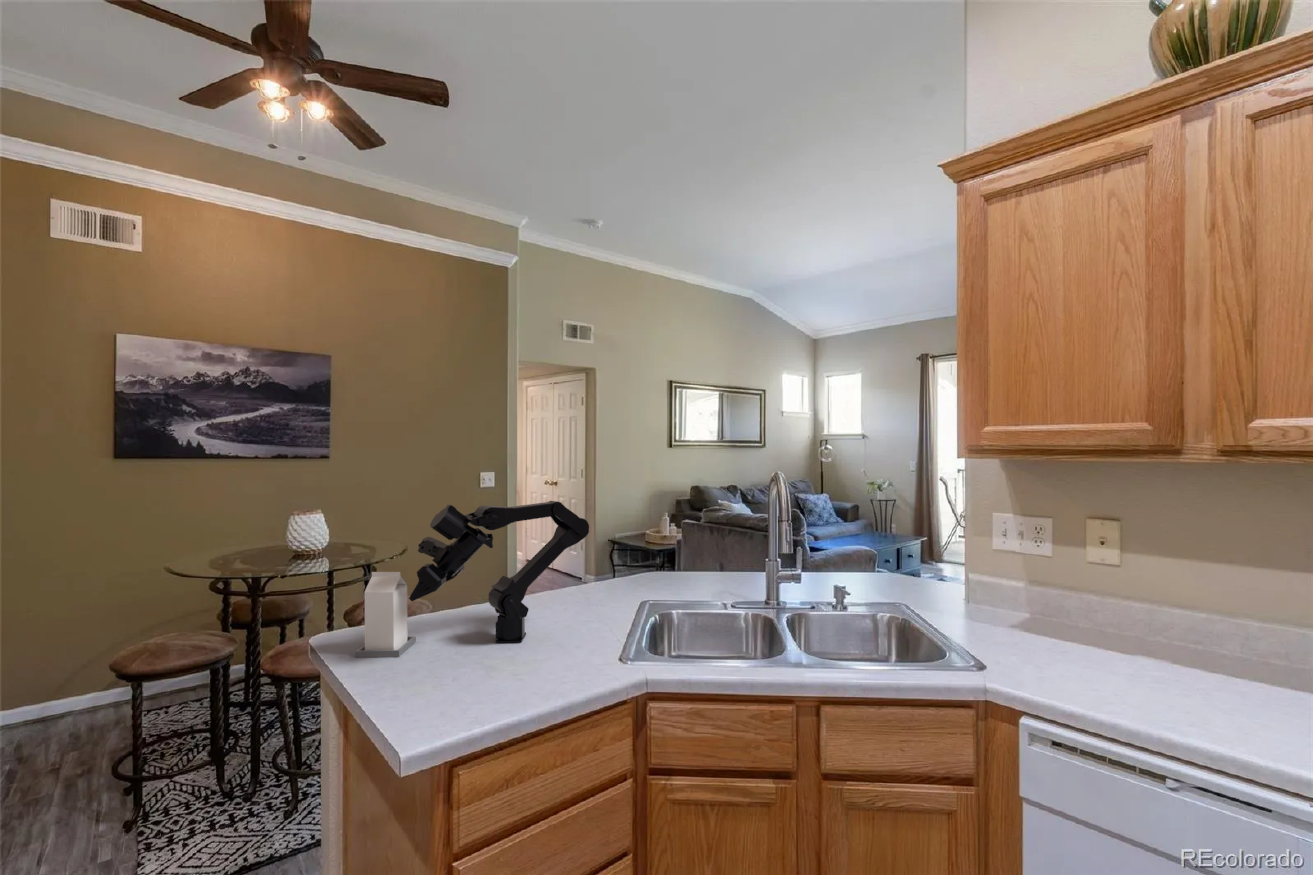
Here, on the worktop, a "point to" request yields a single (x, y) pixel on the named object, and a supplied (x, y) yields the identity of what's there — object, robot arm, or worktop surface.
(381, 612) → the milk carton
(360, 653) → the drip tray
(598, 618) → the worktop surface
